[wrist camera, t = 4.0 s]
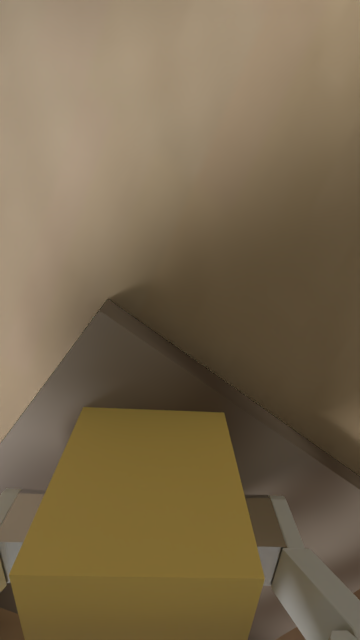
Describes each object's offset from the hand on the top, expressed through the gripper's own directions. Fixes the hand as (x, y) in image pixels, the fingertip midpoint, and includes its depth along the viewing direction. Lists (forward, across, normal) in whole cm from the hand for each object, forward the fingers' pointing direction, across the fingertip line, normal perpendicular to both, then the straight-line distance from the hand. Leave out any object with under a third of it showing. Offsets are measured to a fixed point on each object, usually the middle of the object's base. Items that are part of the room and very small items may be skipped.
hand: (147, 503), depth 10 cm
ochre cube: (+2, 0, 0) cm, 2 cm away
